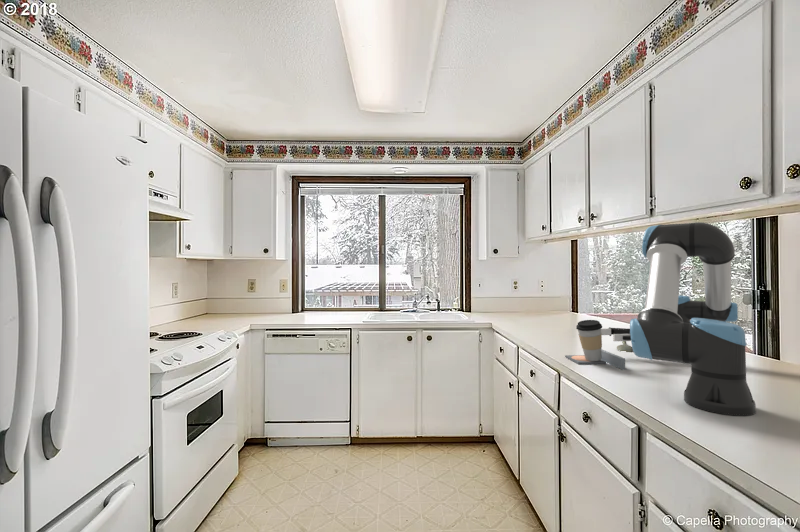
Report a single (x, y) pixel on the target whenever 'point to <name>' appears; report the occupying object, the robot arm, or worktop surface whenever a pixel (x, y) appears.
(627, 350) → the toy dinosaur
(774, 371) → the worktop surface
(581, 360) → the mat
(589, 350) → the coffee cup
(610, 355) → the blue-grey rectangular bar
